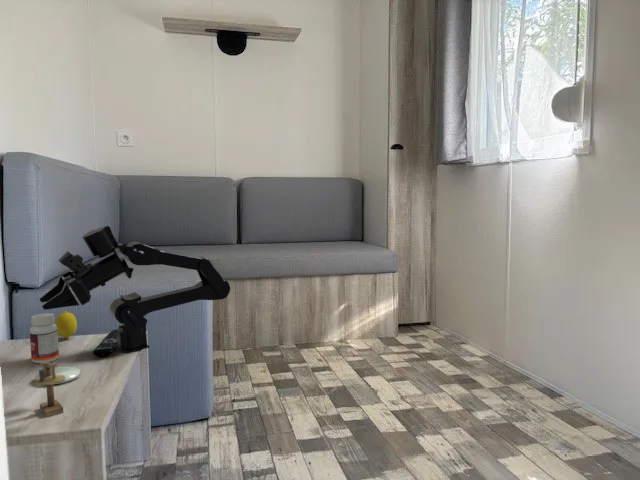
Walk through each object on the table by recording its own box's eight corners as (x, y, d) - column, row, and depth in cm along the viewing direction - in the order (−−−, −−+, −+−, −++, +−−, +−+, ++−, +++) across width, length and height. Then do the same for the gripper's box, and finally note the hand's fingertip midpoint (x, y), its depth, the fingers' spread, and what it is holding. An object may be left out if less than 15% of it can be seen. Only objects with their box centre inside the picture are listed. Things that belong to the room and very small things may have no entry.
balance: (34, 403, 104) (30, 353, 103) (54, 398, 107) (50, 349, 105) (48, 423, 96) (45, 368, 95) (69, 417, 98) (66, 364, 97)
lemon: (56, 342, 144) (54, 314, 143) (56, 337, 149) (54, 310, 148) (78, 339, 146) (76, 312, 145) (77, 334, 151) (75, 307, 150)
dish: (73, 368, 124) (73, 363, 124) (85, 379, 117) (85, 374, 117) (31, 377, 118) (31, 373, 118) (41, 389, 111) (41, 384, 111)
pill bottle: (29, 358, 131) (26, 315, 130) (56, 353, 134) (53, 311, 133) (33, 365, 126) (30, 320, 125) (61, 360, 130) (58, 316, 128)
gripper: (81, 241, 138) (22, 270, 131) (91, 247, 122) (24, 282, 115) (102, 276, 141) (45, 307, 135) (115, 287, 126) (51, 323, 119)
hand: (41, 304), depth 126 cm, fingers open, 9 cm apart
